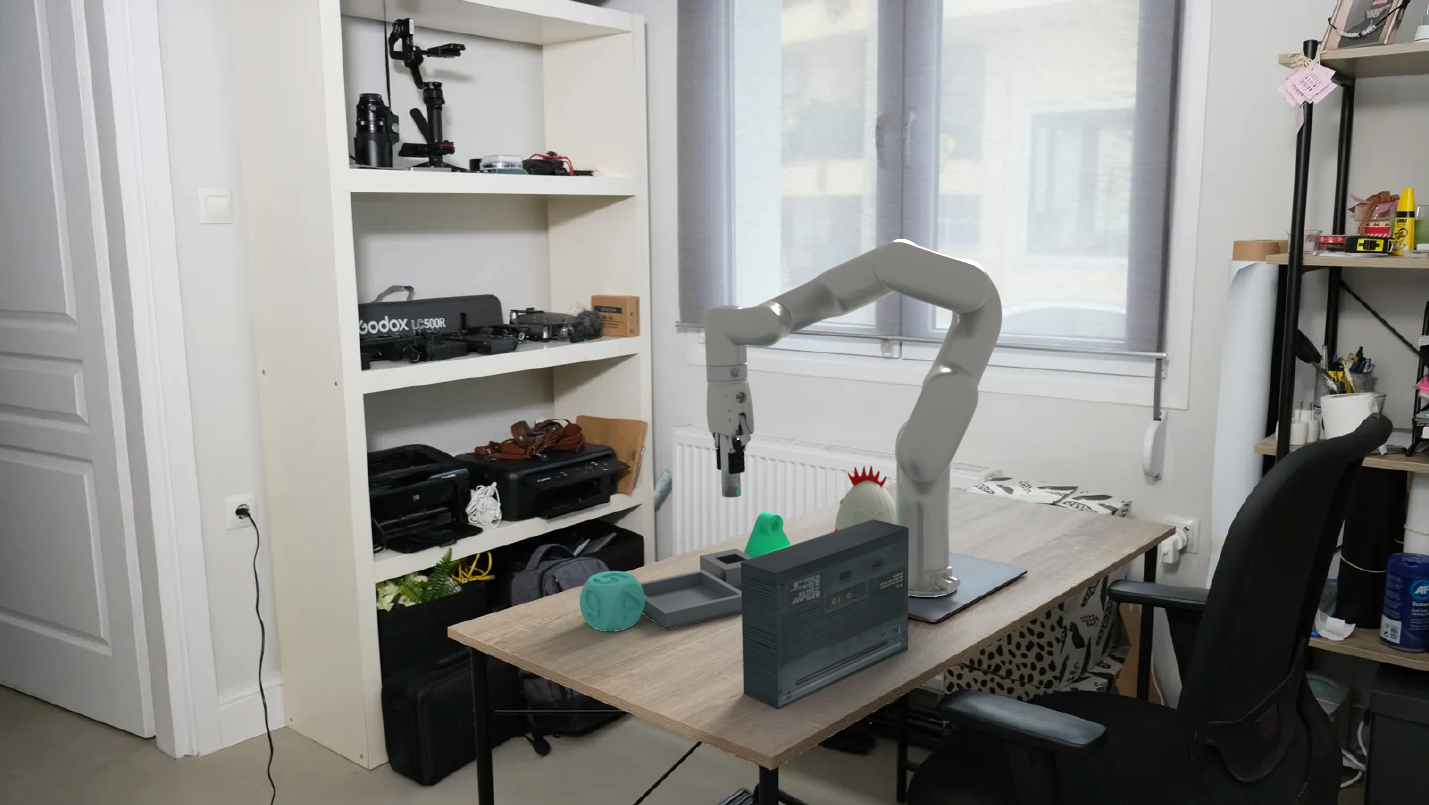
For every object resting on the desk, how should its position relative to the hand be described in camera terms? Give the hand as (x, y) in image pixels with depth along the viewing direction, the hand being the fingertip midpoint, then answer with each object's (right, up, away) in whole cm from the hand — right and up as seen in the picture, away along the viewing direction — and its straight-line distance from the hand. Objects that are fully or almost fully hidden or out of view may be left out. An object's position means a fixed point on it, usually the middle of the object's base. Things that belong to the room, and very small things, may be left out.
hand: (730, 469), depth 200 cm
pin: (0, -5, +1) cm, 5 cm away
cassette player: (+14, -28, -38) cm, 49 cm away
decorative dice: (-20, -25, -16) cm, 36 cm away
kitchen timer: (+30, -16, +30) cm, 45 cm away
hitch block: (0, -21, +4) cm, 21 cm away
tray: (-8, -24, -10) cm, 27 cm away
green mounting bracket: (+9, -20, +11) cm, 25 cm away
